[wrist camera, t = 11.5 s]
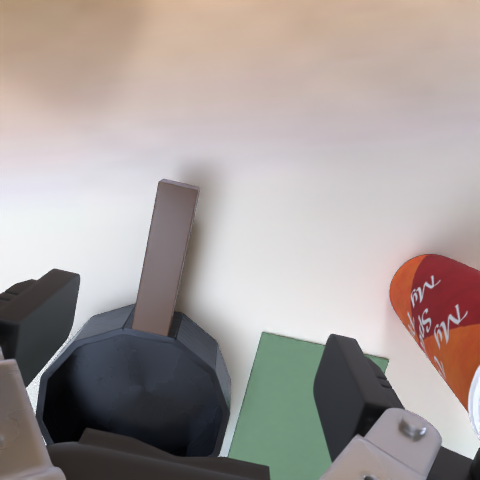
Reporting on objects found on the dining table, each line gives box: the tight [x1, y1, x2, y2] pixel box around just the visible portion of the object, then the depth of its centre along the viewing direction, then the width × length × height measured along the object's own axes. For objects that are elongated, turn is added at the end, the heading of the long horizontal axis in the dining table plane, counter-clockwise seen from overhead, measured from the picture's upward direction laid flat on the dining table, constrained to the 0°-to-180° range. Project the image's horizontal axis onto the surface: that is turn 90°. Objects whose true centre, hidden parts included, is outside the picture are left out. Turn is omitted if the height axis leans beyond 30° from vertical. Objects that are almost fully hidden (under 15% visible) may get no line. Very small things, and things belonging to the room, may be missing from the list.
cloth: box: [228, 332, 389, 480], centre depth 33 cm, size 14×10×1 cm
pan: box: [35, 179, 231, 457], centre depth 29 cm, size 23×13×4 cm, turn 167°
